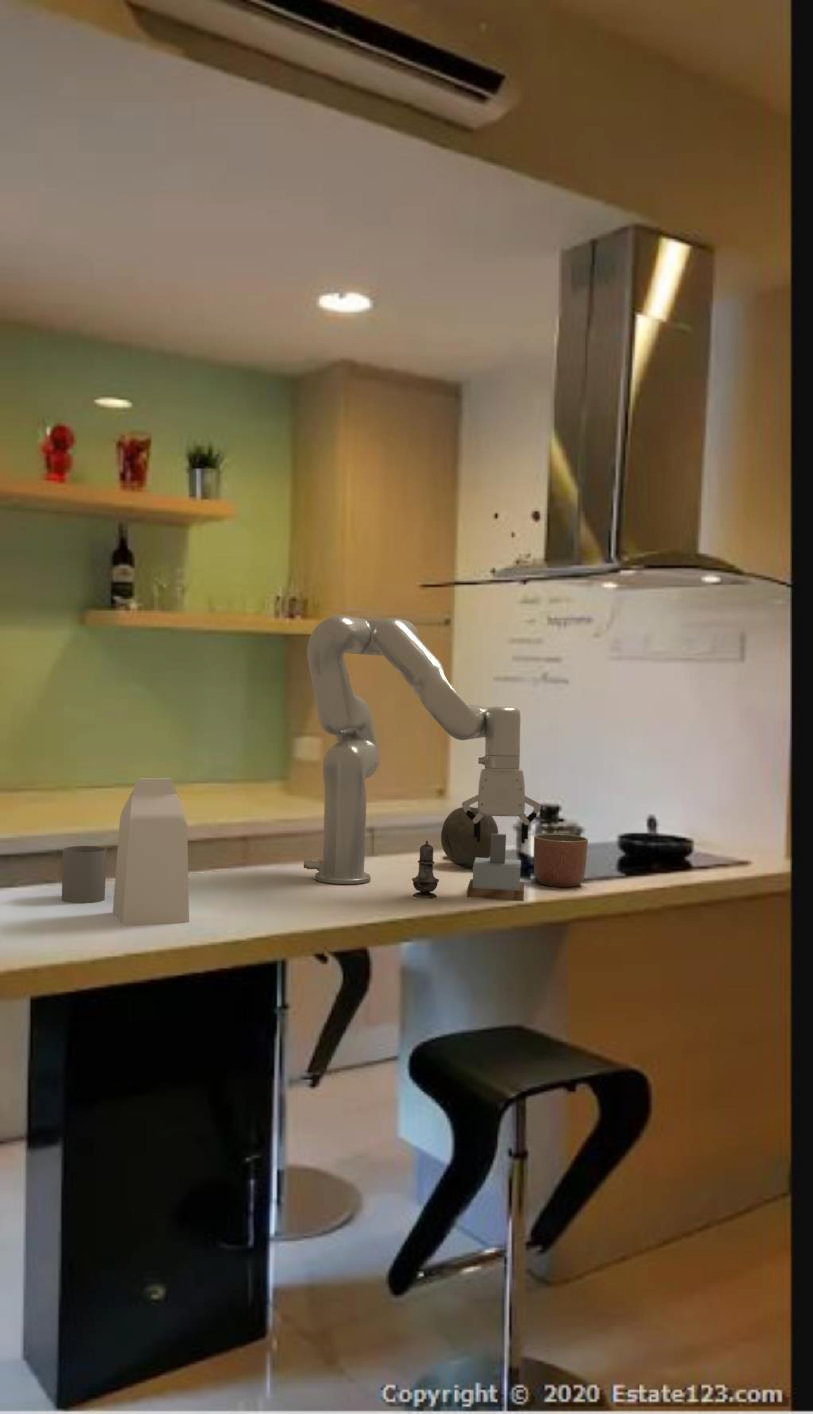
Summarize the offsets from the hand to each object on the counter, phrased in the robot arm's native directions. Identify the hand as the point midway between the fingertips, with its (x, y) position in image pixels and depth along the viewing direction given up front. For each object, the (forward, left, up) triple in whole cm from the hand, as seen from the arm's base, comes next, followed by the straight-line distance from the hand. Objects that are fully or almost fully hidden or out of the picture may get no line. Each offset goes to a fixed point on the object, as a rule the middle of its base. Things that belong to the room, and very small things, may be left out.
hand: (500, 841), depth 245 cm
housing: (-1, 0, -10) cm, 10 cm away
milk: (-64, -43, -12) cm, 78 cm away
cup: (-82, -31, -12) cm, 88 cm away
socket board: (-1, 0, -12) cm, 12 cm away
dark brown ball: (-9, +33, -12) cm, 36 cm away
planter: (+13, +17, -12) cm, 25 cm away
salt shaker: (-16, -7, -12) cm, 21 cm away
